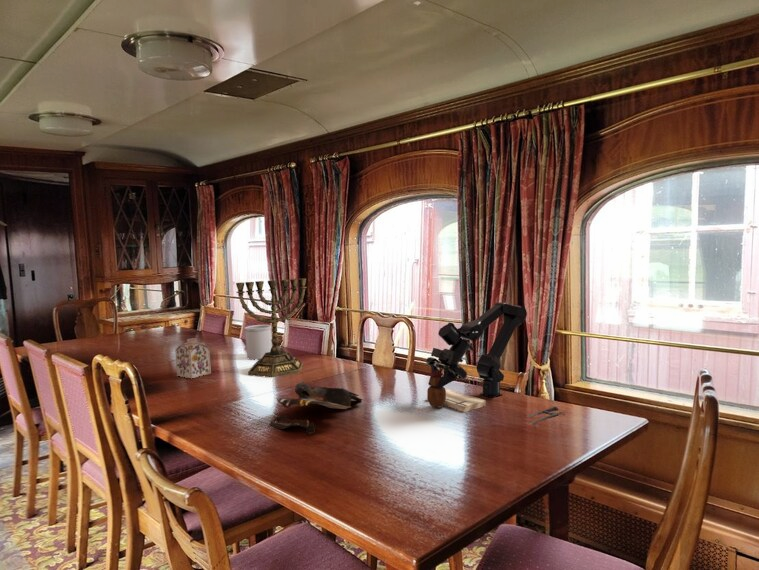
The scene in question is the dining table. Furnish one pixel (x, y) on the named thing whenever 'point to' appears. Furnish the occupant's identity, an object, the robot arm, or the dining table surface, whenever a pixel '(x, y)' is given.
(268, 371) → the menorah
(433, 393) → the wooden figurine
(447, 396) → the maple board
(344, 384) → the dining table surface
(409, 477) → the dining table surface
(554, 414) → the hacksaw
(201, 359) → the decorative jar
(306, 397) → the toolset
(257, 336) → the utensil holder
